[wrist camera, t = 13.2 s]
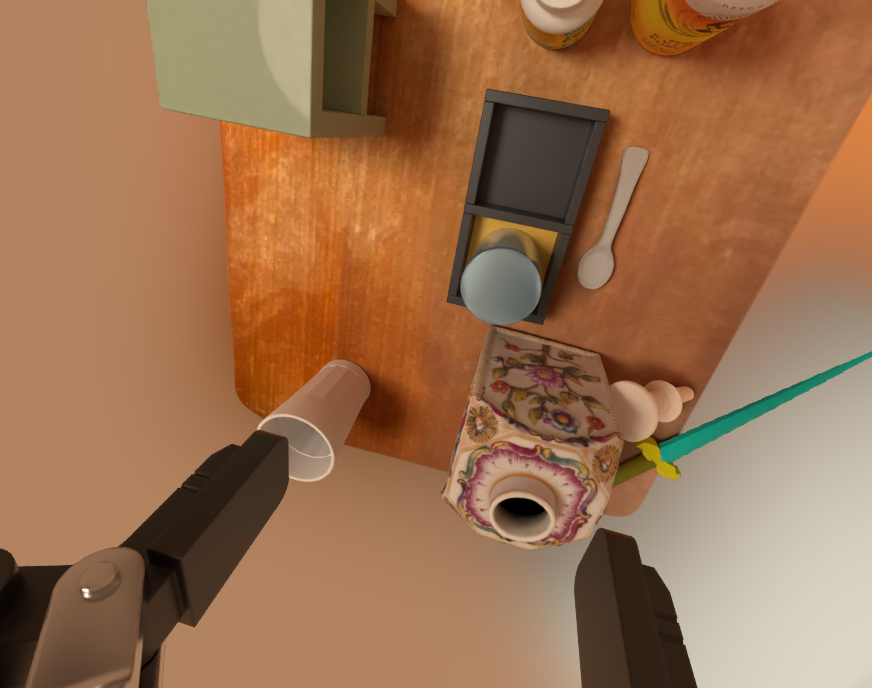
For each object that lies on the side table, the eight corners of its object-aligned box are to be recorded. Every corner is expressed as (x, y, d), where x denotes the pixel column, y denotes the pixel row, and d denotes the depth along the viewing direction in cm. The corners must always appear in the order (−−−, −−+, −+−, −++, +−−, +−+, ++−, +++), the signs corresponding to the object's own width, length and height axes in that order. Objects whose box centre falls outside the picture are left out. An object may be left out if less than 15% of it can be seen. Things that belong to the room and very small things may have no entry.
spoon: (570, 282, 40) (572, 288, 38) (616, 144, 35) (621, 142, 33) (602, 290, 39) (606, 295, 38) (653, 151, 34) (660, 150, 33)
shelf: (278, -25, 34) (130, -115, 21) (398, -7, 33) (314, -90, 20) (280, 116, 38) (159, 108, 26) (385, 136, 37) (310, 138, 25)
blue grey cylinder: (481, 220, 38) (468, 240, 31) (549, 234, 37) (551, 258, 30) (468, 284, 41) (453, 315, 34) (530, 298, 40) (529, 333, 33)
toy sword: (593, 521, 48) (902, 384, 36) (561, 487, 46) (873, 332, 35) (588, 503, 50) (878, 369, 38) (558, 470, 49) (849, 320, 37)
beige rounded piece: (640, 373, 35) (704, 359, 40) (591, 390, 39) (655, 375, 44) (665, 436, 33) (728, 412, 39) (612, 446, 38) (675, 423, 43)
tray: (490, 91, 34) (486, 88, 31) (604, 112, 33) (610, 110, 30) (452, 291, 42) (446, 302, 40) (542, 312, 41) (542, 325, 39)
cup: (377, 415, 51) (336, 488, 41) (316, 405, 53) (261, 473, 42) (376, 358, 48) (331, 422, 37) (311, 348, 49) (249, 407, 39)
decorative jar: (461, 411, 48) (425, 546, 33) (487, 321, 43) (458, 431, 27) (565, 441, 47) (579, 597, 31) (605, 353, 42) (646, 487, 26)
